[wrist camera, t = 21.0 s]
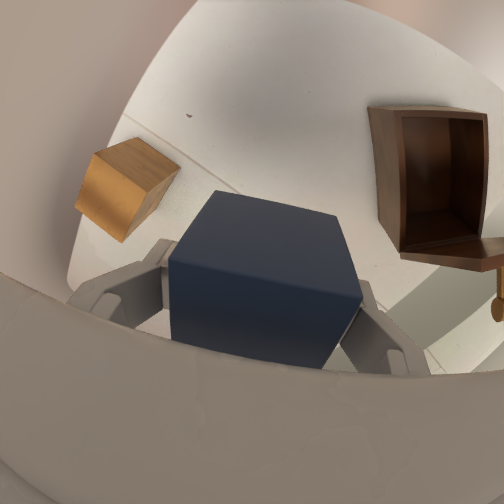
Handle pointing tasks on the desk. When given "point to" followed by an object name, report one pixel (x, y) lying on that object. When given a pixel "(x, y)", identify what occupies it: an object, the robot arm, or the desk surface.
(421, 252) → the lid
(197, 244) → the block
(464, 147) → the compartment
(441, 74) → the desk surface
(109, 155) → the stand
